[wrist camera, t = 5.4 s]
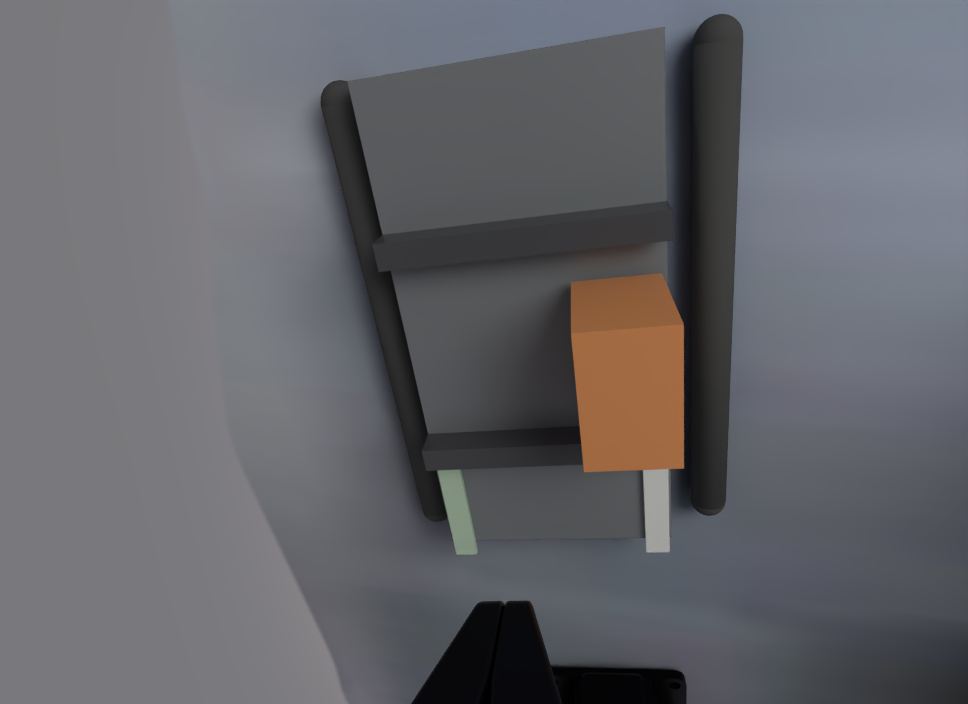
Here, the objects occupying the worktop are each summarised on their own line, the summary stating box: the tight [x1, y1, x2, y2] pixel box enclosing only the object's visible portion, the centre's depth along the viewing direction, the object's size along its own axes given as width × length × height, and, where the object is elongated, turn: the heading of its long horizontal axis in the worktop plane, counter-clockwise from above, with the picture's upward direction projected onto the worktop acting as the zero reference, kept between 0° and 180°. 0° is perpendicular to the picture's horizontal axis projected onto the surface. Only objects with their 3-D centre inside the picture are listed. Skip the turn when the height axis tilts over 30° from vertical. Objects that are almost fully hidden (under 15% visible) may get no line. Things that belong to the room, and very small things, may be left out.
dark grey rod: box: [321, 80, 447, 522], centre depth 20 cm, size 16×1×1 cm, turn 9°
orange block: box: [571, 273, 684, 472], centre depth 16 cm, size 4×2×4 cm, turn 9°
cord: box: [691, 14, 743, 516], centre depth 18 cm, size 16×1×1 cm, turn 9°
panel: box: [348, 27, 673, 555], centre depth 18 cm, size 16×8×3 cm, turn 9°
